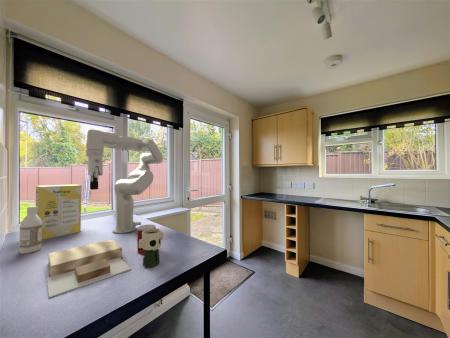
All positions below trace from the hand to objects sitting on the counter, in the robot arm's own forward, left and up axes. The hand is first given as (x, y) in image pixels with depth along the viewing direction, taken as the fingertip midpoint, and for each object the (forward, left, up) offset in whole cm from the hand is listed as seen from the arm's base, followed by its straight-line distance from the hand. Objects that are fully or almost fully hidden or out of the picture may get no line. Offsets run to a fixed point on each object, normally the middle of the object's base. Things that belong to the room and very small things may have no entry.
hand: (94, 189), depth 95 cm
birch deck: (+6, +21, -27) cm, 35 cm away
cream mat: (+7, +35, -27) cm, 45 cm away
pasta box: (+11, -30, -27) cm, 42 cm away
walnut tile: (+7, +36, -24) cm, 44 cm away
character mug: (-11, +43, -27) cm, 52 cm away
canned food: (-15, +29, -27) cm, 43 cm away
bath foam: (+22, -8, -27) cm, 36 cm away
